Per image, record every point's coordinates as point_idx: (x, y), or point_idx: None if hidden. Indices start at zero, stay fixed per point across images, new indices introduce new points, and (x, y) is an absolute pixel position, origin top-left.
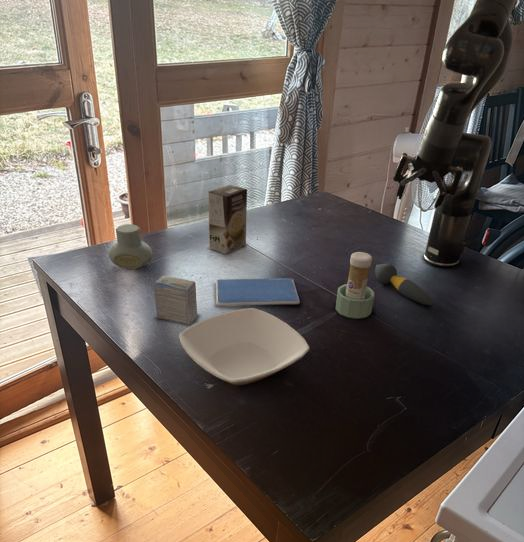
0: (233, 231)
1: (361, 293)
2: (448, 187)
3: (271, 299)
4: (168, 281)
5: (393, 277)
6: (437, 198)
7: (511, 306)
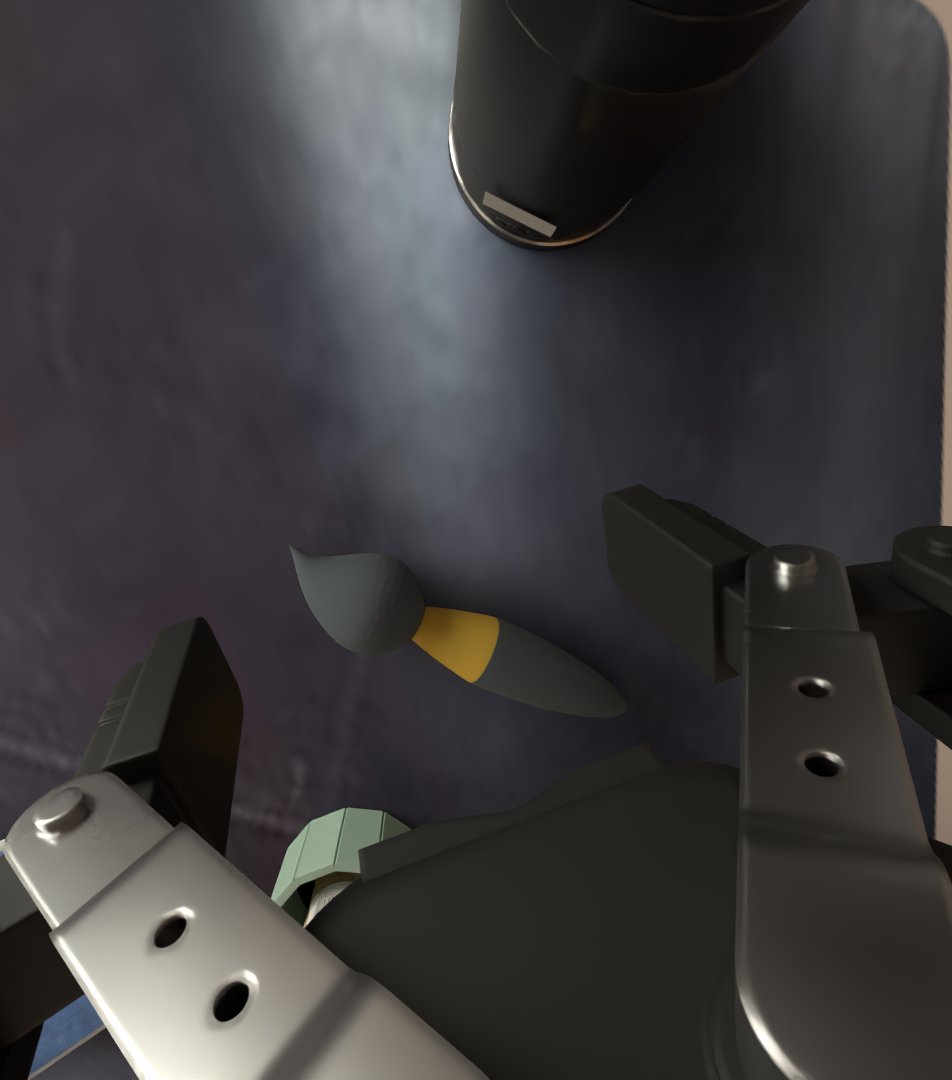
0: None
1: None
2: (884, 645)
3: (57, 1035)
4: None
5: (421, 644)
6: (670, 619)
7: (912, 482)
